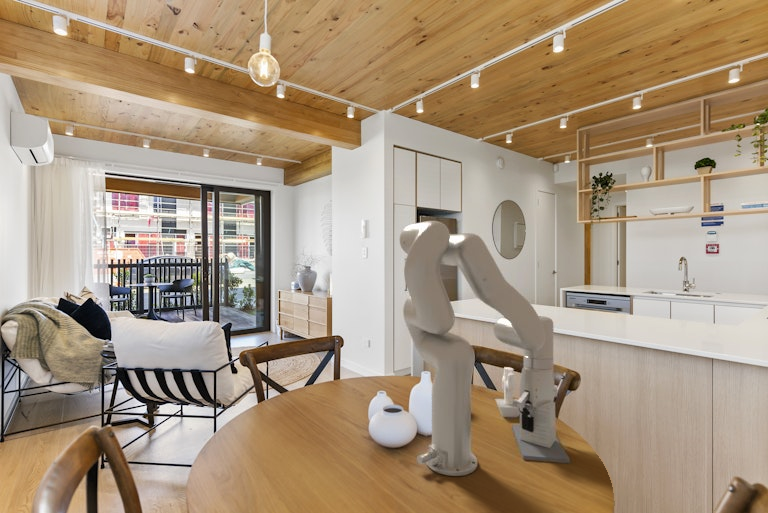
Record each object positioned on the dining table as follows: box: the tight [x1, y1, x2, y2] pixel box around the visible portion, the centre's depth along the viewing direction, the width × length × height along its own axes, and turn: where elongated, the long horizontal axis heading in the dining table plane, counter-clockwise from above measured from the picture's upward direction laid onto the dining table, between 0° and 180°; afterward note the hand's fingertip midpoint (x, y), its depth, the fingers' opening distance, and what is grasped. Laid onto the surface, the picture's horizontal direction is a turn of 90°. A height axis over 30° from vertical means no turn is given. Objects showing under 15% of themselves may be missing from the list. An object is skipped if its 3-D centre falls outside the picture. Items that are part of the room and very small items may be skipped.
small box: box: [519, 401, 557, 448], centre depth 106 cm, size 8×6×10 cm
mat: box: [511, 424, 571, 464], centre depth 106 cm, size 18×11×1 cm, turn 171°
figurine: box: [494, 366, 520, 418], centre depth 126 cm, size 7×9×15 cm
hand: (538, 425), depth 106 cm, fingers open, 9 cm apart
